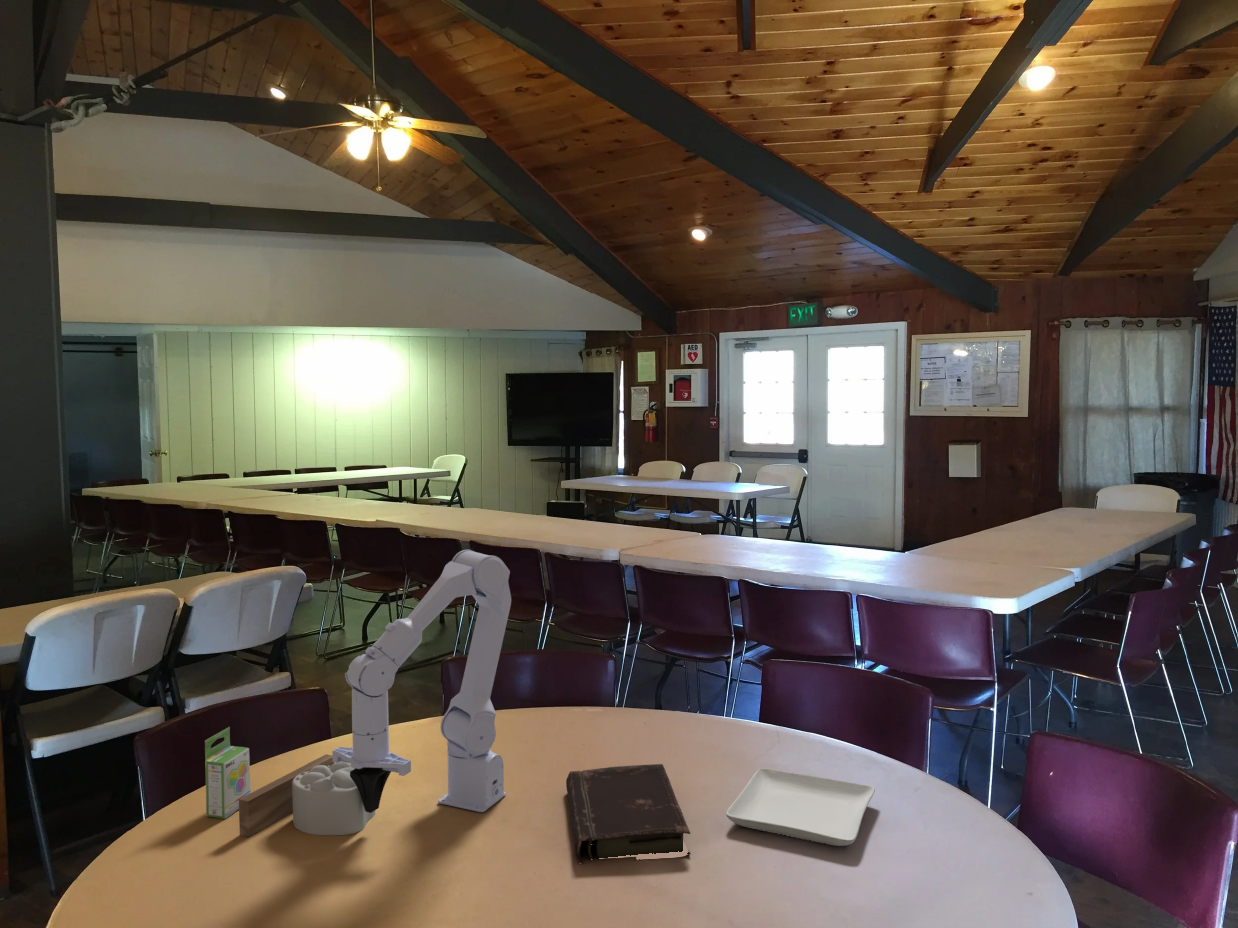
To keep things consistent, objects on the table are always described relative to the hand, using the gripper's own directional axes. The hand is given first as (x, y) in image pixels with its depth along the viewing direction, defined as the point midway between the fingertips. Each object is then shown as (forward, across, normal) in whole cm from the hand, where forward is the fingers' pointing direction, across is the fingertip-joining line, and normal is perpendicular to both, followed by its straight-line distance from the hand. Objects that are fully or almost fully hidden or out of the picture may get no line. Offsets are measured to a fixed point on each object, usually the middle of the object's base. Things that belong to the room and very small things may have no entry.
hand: (372, 809), depth 141 cm
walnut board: (+3, -18, 0) cm, 18 cm away
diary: (+4, +38, +19) cm, 42 cm away
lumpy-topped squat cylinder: (+4, -9, 0) cm, 9 cm away
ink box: (+4, -28, -4) cm, 28 cm away
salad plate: (+4, +64, +33) cm, 72 cm away
